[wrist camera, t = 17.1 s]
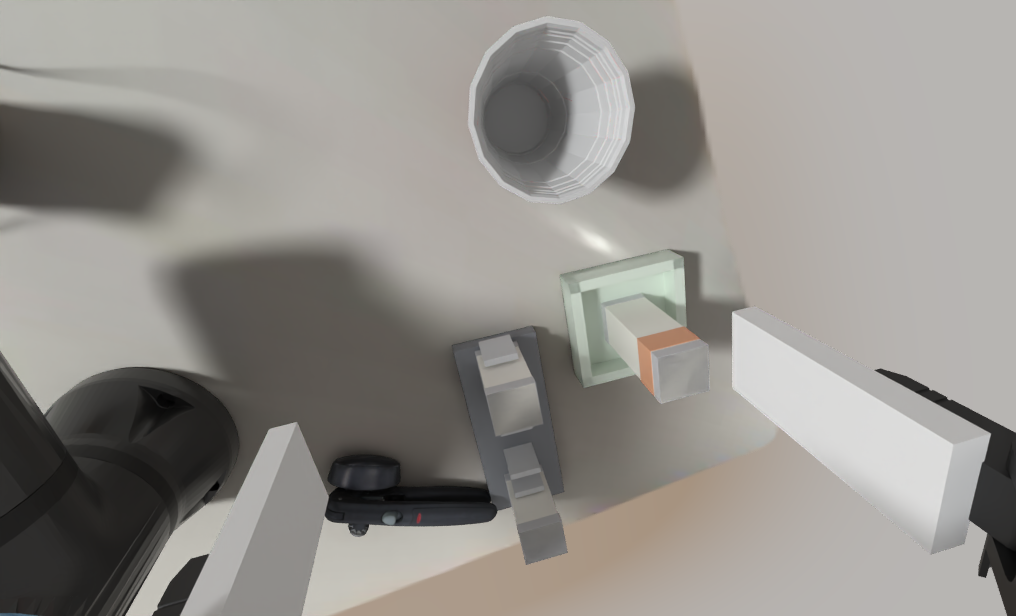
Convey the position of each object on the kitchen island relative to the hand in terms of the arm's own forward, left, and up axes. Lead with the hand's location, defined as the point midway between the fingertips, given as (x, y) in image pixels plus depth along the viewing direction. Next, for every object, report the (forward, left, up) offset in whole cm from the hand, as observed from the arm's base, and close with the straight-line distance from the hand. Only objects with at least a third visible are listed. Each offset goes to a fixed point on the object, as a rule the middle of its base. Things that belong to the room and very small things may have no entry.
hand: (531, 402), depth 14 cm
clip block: (+1, -22, -31) cm, 38 cm away
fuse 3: (+14, -13, -30) cm, 35 cm away
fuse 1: (+1, -14, -29) cm, 33 cm away
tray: (+14, -13, -31) cm, 36 cm away
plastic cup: (+7, +7, -31) cm, 32 cm away
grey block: (+1, -30, -29) cm, 42 cm away
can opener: (-11, -27, -31) cm, 43 cm away
